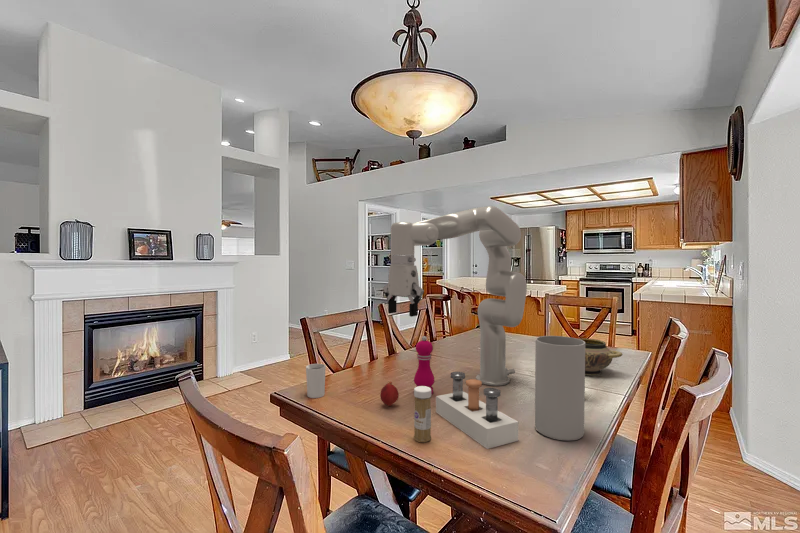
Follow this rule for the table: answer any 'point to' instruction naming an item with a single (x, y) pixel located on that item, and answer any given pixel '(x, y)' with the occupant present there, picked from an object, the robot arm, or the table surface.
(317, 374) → the drinking glass
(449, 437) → the table surface
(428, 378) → the pepper mill
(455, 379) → the grey plug
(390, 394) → the onion
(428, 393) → the sprinkles bottle
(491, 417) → the grey plug
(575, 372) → the cylinder vase
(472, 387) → the rust plug
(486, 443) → the block
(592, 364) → the ceramic bowl
